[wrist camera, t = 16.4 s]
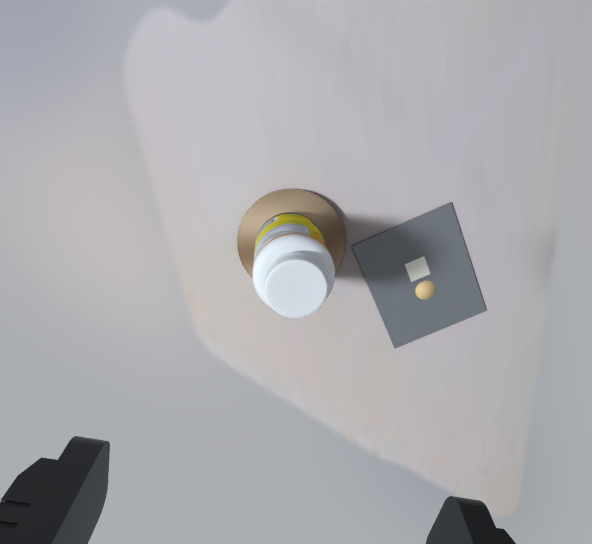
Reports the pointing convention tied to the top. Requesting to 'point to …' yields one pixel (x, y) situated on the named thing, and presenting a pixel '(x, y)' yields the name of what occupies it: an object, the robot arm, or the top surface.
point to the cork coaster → (296, 203)
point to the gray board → (420, 275)
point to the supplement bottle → (292, 265)
